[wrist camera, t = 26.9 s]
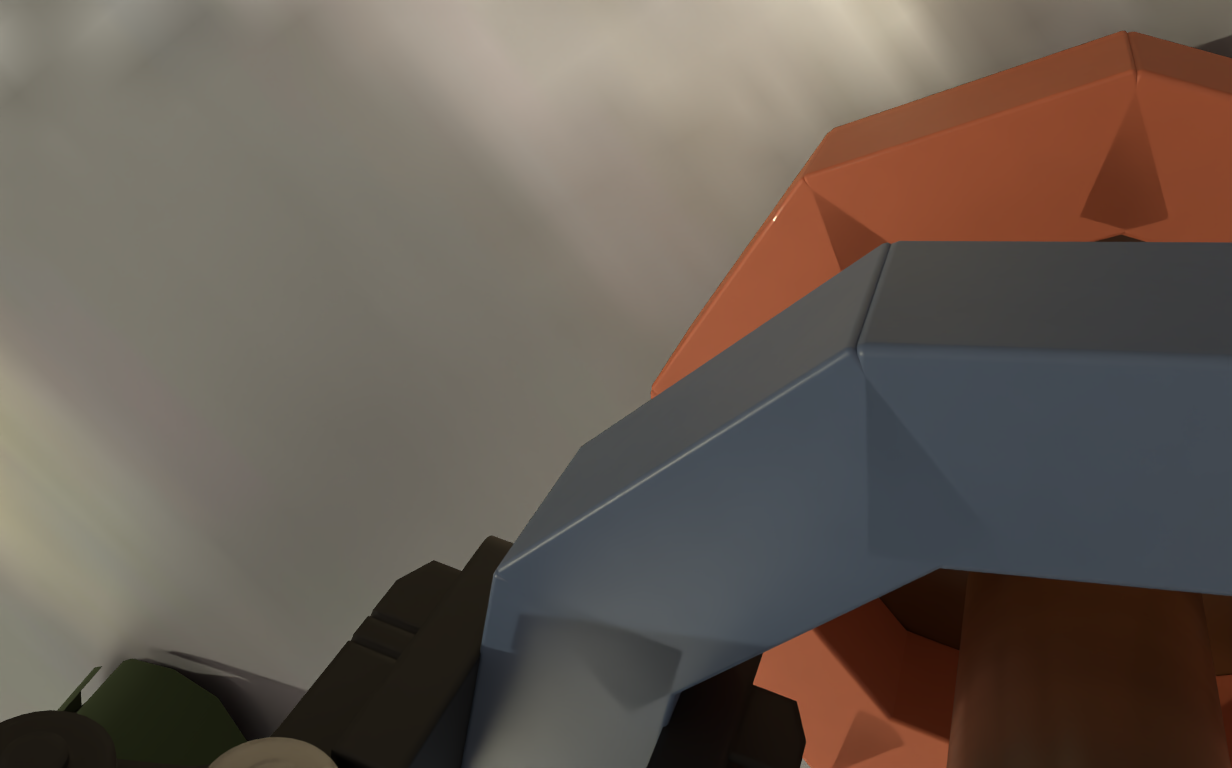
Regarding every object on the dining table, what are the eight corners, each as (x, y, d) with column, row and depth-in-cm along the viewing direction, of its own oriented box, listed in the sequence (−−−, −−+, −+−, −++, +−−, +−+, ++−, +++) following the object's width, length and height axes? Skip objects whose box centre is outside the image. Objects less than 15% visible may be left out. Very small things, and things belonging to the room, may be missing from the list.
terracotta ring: (795, -63, 16) (758, -38, 14) (1863, 229, 14) (1996, 308, 12) (617, 603, 23) (575, 682, 21) (1316, 875, 21) (1344, 995, 19)
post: (905, 104, 19) (767, 414, 10) (1505, 275, 17) (1986, 831, 8) (762, 533, 23) (584, 1003, 14) (1222, 699, 22) (1333, 1342, 13)
